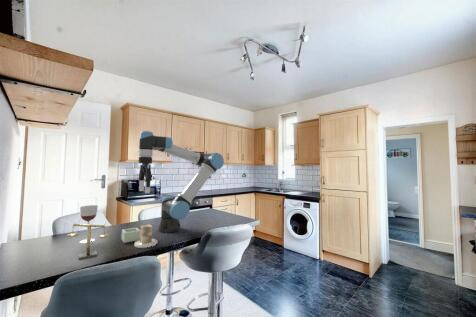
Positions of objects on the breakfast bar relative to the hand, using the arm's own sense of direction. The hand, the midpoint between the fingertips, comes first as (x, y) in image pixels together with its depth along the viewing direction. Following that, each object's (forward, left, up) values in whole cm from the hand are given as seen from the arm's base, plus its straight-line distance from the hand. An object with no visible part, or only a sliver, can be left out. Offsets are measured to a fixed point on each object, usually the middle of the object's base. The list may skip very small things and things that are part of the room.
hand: (144, 191), depth 128 cm
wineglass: (+26, -18, -29) cm, 43 cm away
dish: (0, +8, -29) cm, 30 cm away
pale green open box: (+5, -6, -29) cm, 30 cm away
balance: (+27, +9, -29) cm, 40 cm away
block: (0, +8, -28) cm, 29 cm away
